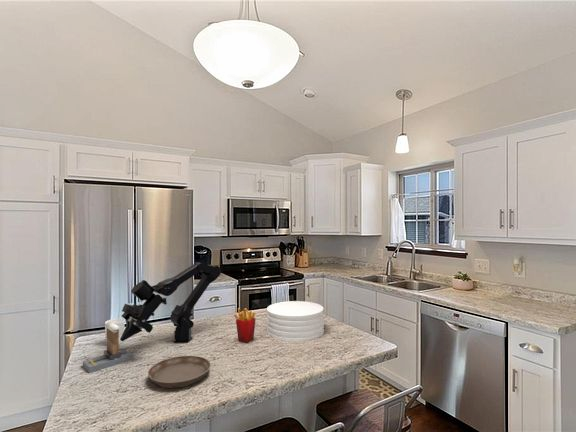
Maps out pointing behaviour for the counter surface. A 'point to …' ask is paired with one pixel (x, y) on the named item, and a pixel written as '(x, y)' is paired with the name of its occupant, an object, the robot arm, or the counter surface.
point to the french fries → (245, 326)
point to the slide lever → (112, 341)
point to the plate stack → (295, 320)
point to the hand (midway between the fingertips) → (121, 340)
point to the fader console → (106, 361)
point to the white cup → (119, 323)
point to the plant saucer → (179, 371)
